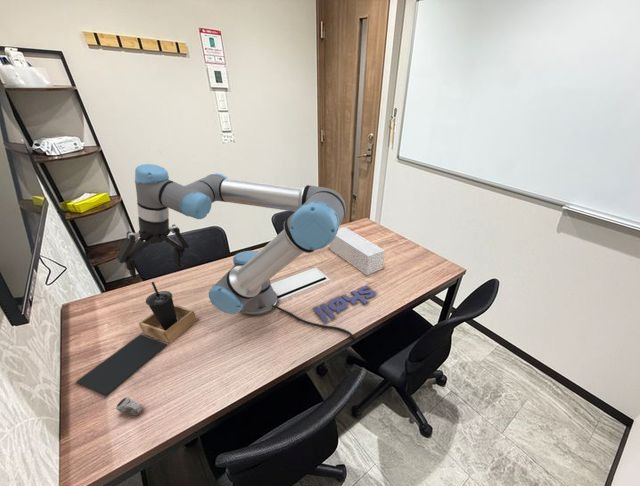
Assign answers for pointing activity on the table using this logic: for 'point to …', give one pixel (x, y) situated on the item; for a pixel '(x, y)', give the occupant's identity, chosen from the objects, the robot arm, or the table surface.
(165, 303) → the drinking cup
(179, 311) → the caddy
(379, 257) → the white rectangular block
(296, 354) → the table surface
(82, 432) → the table surface
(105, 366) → the mat
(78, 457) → the table surface
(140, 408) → the grey stone
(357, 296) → the signage
